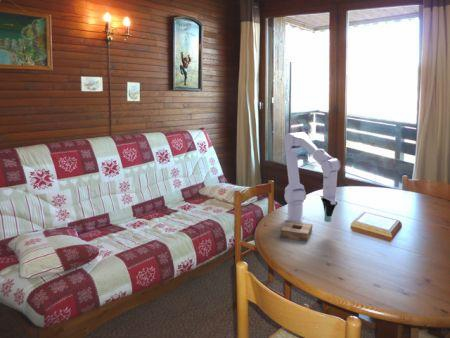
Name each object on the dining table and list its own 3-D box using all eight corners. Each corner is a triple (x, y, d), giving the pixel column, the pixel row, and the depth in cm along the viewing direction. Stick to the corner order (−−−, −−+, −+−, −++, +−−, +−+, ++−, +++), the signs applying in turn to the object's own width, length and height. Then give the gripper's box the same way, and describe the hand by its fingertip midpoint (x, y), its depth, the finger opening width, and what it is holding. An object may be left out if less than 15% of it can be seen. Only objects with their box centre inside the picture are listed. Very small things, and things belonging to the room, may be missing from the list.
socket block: (286, 227, 187) (286, 220, 186) (312, 231, 182) (312, 224, 181) (280, 237, 176) (280, 230, 175) (307, 241, 171) (307, 233, 171)
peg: (324, 219, 179) (325, 200, 177) (331, 220, 178) (332, 201, 176) (323, 221, 176) (324, 202, 174) (330, 222, 175) (331, 203, 173)
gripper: (316, 181, 180) (315, 209, 184) (324, 190, 166) (323, 220, 170) (332, 181, 180) (330, 209, 184) (341, 190, 166) (339, 220, 170)
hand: (328, 214), depth 177 cm, fingers closed on peg, 3 cm apart
